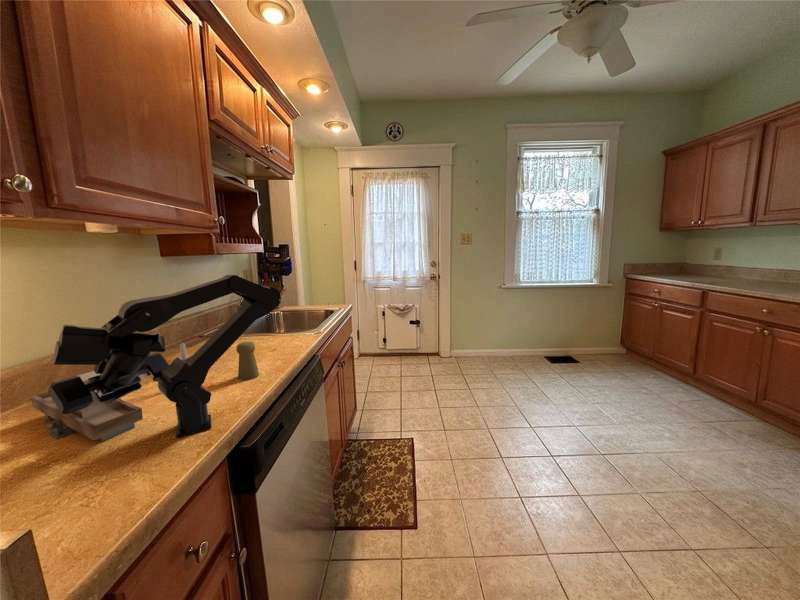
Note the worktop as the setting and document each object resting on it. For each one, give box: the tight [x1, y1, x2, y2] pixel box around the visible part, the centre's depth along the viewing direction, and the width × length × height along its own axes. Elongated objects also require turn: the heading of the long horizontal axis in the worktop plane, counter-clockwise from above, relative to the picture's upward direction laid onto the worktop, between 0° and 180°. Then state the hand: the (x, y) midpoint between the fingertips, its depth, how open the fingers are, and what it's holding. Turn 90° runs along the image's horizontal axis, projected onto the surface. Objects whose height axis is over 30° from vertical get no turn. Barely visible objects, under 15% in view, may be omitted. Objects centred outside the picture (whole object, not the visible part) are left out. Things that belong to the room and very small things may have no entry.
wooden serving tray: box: [30, 391, 144, 441], centre depth 74 cm, size 26×9×3 cm, turn 67°
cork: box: [236, 341, 260, 381], centre depth 99 cm, size 6×6×11 cm
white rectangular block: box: [72, 370, 116, 420], centre depth 72 cm, size 6×6×8 cm
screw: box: [179, 342, 189, 361], centre depth 93 cm, size 13×5×5 cm
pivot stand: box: [44, 414, 136, 443], centre depth 74 cm, size 25×13×3 cm, turn 67°
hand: (106, 401), depth 69 cm, fingers closed
